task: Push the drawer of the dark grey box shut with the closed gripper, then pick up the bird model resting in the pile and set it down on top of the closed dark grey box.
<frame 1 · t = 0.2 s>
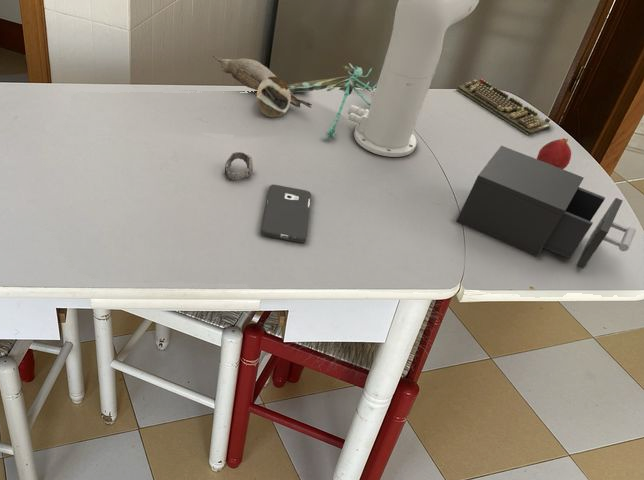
drawer: (575, 223, 118), point 5 cm above the table, slide at 6.0 cm
onion: (544, 174, 138), on the table
dark grey box: (506, 222, 125), on the table
cell phone: (287, 209, 120), point 1 cm above the table
wristwatch: (226, 162, 128), point 1 cm above the table
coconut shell: (277, 97, 141), point 4 cm above the table
bird model: (263, 64, 147), point 6 cm above the table, touching insect sculpture
keyboard: (496, 116, 156), on the table
insect sculpture: (313, 135, 139), point 1 cm above the table, touching bird model
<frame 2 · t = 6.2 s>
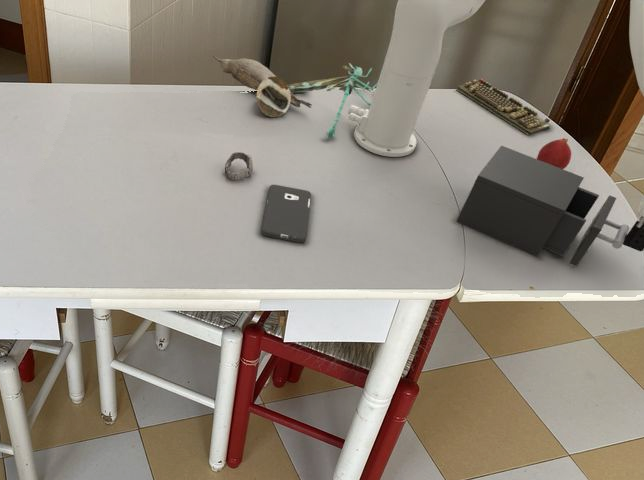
hand: (632, 245, 115), 5 cm above the table, tool pointing down, fingers closed
drawer: (568, 220, 118), point 5 cm above the table, slide at 4.9 cm, touching gripper
everything else where it was.
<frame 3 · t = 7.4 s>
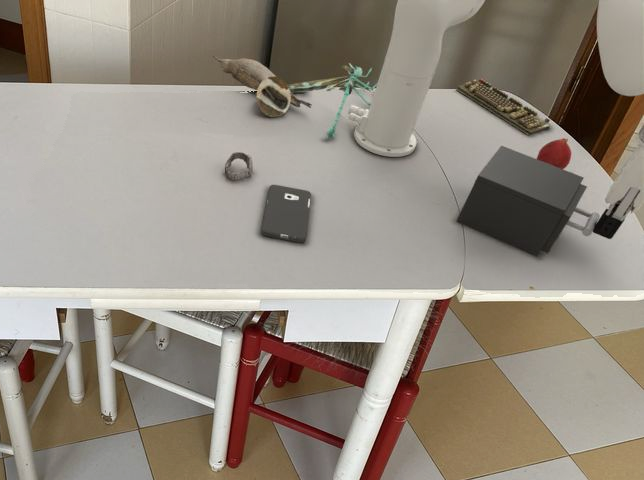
hand: (602, 233, 116), 5 cm above the table, tool pointing down, fingers closed
drawer: (540, 209, 120), point 5 cm above the table, slide at 0.0 cm, touching dark grey box, gripper
everything else where it was.
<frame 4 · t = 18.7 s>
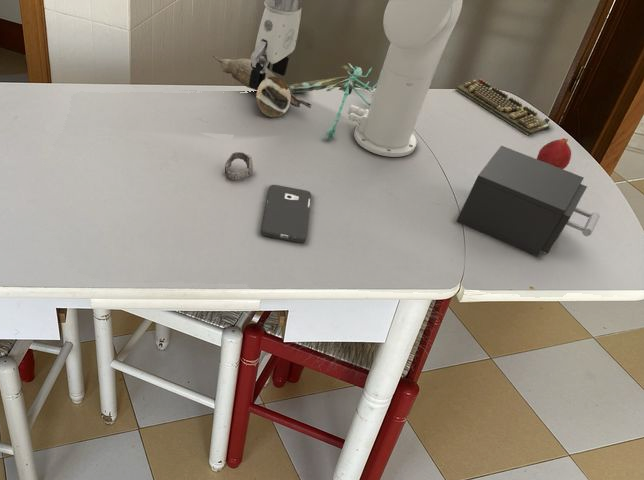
hand: (267, 80, 149), 3 cm above the table, tool pointing down, fingers open, 9 cm apart
drawer: (540, 209, 120), point 5 cm above the table, slide at 0.0 cm, touching dark grey box
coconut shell: (277, 97, 141), point 4 cm above the table, touching gripper
everything else where it was.
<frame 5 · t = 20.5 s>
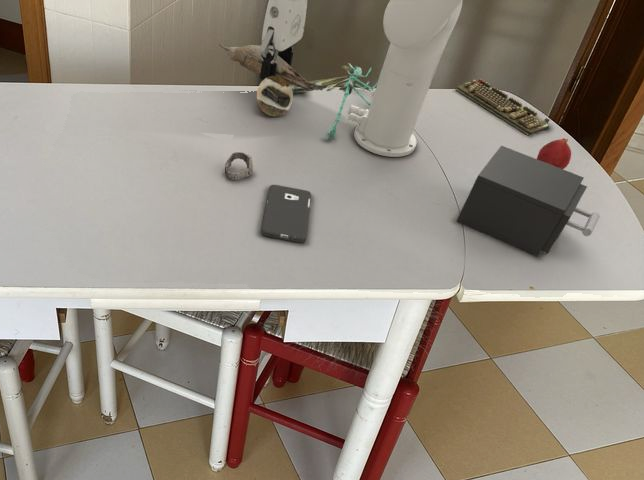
hand: (275, 73, 146), 5 cm above the table, tool pointing down, fingers closed on bird model, 6 cm apart
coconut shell: (277, 96, 141), point 4 cm above the table
bird model: (271, 49, 144), point 9 cm above the table, touching gripper
insect sculpture: (314, 135, 139), point 1 cm above the table
everything else where it was.
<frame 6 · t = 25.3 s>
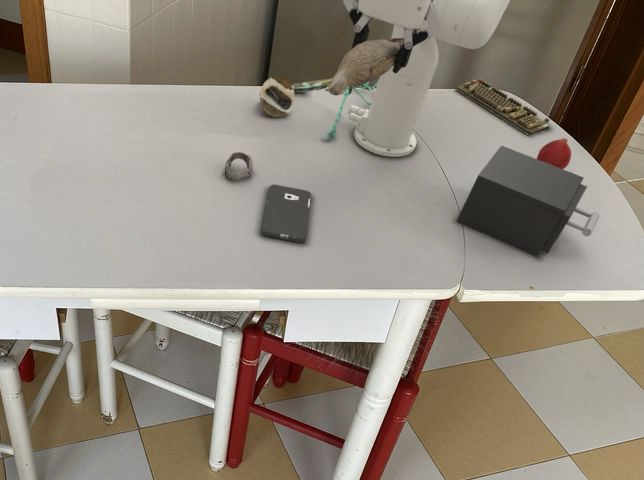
hand: (377, 61, 107), 25 cm above the table, tool pointing down, fingers closed on bird model, 6 cm apart
bird model: (379, 36, 103), point 30 cm above the table, touching gripper
everything else where it was.
when the fingers open (11 cm above the table, at t = 31.4 s): bird model stays where it is, resting on dark grey box.
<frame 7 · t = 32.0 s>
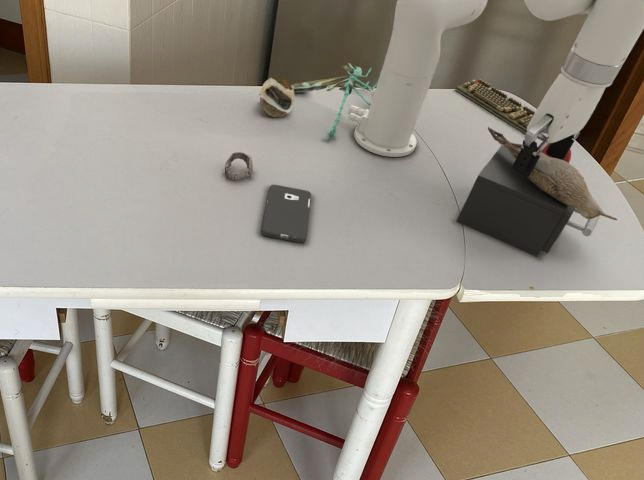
hand: (537, 164, 116), 12 cm above the table, tool pointing down, fingers open, 9 cm apart
bird model: (555, 154, 113), point 15 cm above the table, touching dark grey box
everything else where it was.
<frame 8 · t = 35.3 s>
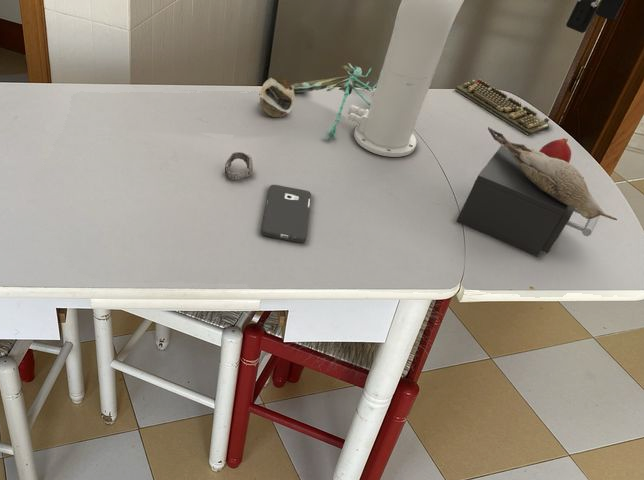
hand: (590, 23, 112), 30 cm above the table, tool pointing down, fingers open, 9 cm apart
nothing on the table moved.
at the end: drawer slide at 0.0 cm; bird model inside the target area on the dark grey box (1.9 cm from its centre), point 15.3 cm above the dark grey box's base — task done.
